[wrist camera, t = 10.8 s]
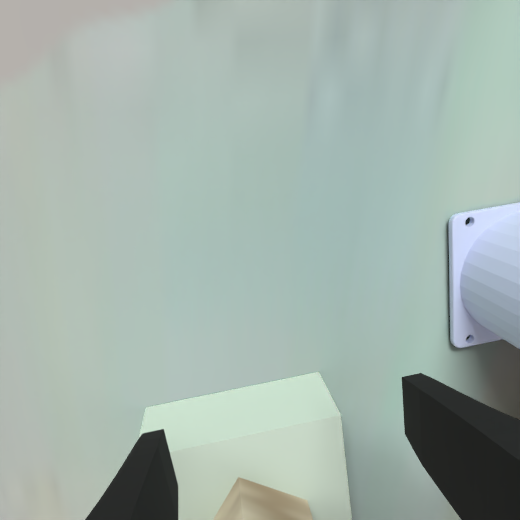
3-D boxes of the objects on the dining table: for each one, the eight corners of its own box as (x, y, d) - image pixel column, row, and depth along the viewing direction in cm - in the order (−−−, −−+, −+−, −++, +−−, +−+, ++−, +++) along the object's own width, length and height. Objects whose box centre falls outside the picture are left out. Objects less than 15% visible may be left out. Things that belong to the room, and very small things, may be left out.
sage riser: (318, 371, 23) (340, 415, 20) (334, 505, 26) (356, 566, 22) (146, 407, 23) (133, 459, 19) (181, 541, 25) (177, 611, 22)
